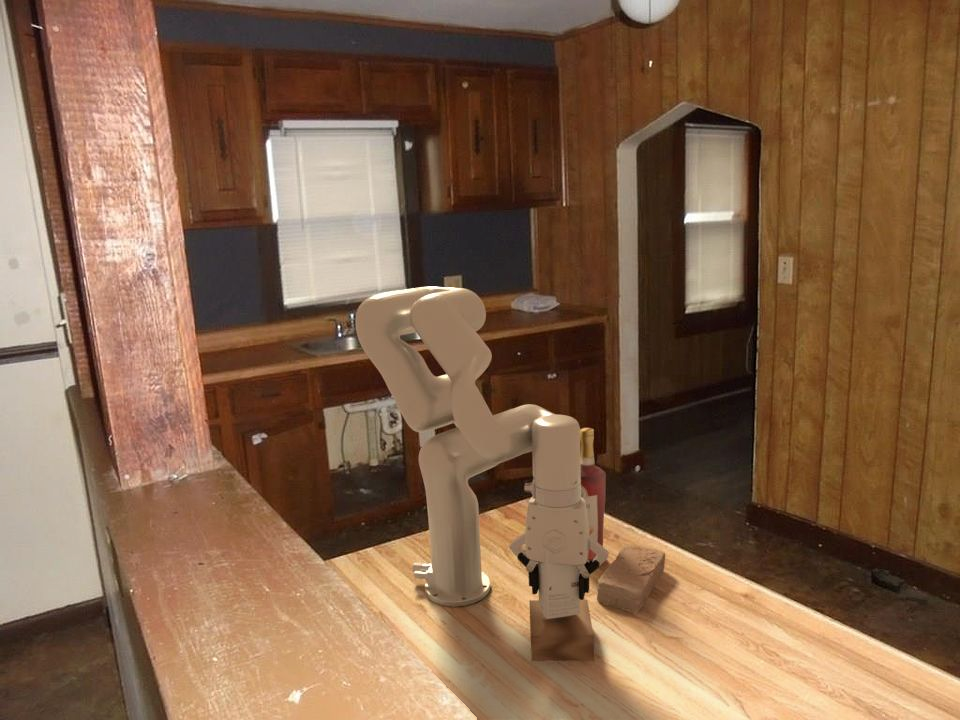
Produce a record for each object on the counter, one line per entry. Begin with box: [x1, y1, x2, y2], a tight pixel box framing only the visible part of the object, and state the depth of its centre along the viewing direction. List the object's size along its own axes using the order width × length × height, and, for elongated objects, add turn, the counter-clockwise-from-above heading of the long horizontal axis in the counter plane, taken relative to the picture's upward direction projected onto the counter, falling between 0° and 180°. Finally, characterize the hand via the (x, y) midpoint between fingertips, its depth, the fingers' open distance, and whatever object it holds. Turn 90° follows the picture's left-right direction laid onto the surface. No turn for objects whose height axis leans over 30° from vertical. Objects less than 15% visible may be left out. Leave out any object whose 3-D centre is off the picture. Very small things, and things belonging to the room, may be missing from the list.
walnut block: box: [528, 599, 595, 662], centre depth 117 cm, size 10×10×5 cm
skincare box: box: [537, 551, 580, 619], centre depth 114 cm, size 6×4×12 cm
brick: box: [596, 543, 666, 613], centre depth 133 cm, size 17×8×5 cm, turn 149°
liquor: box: [580, 427, 607, 561], centre depth 140 cm, size 7×7×28 cm
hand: (559, 591), depth 115 cm, fingers closed on skincare box, 7 cm apart
